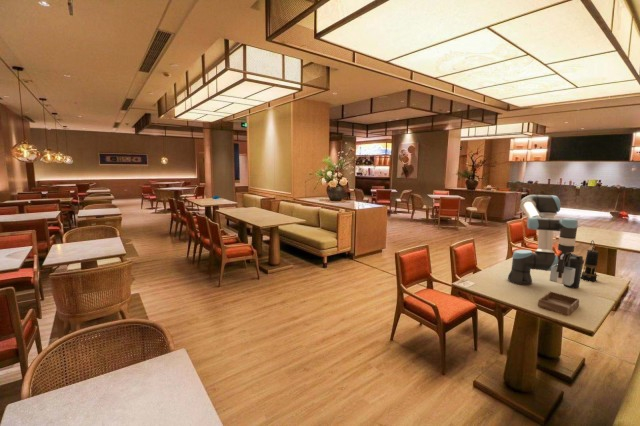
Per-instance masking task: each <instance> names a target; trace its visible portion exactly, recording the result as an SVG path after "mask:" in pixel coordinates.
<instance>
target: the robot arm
mask: <svg viewBox="0 0 640 426" xmlns="http://www.w3.org/2000/svg"><path fill="white" fill-rule="evenodd" d="M560 200H561V199H560V198H559V197H558V196H557V195H551V194H529V195H527V196H525V197H523V198H521V200H520V201H519V209H520V210H521V211H523V212H524V214H525V216H526V218H527V219H526V227H527V229H528V230H533V231H534V230H535V231H536V230H537V231H538V236H537V237H538V238H537V249H535V250H534V252H533V251H532V250H530V249H529V250H528V249H517V250H514V252H513V253H512V258H511V259H512V263H511V270H510V272H509V274H508V276H507V280H508V281H509V282H511V283H513V284H516V285H521V286H529V285H532V283H533V278H532V275H531V270H537V271H545V272H547V271H548V272H551V267H552V266H553V265H555V264H556V265H558V267H557V271H556V272H558V275H557V284H560V283H561V285H563V284H562V283H563V276H564V273H563V271H564V267H570V257H571V254H572V253H573V252H574V251H575V245H576V239H577V238H576V237H577V230H578V227H579V225H578V224H579V222H578V221H579V220H578V219H576V218H571V217H569V218H568V217H563V218H561V217H560V218H559V217H558V218H555V216H556V215H557V214H558V213H559V212H560V211H561V208H562V207H561V206H562V205H561V201H560ZM554 232H559V237H558V238H557V239H558V246H557V251H559V252H560V254H559V255H557V254H556V252H555V251H554V250H553V246H554Z"/></svg>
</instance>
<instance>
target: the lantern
mask: <svg viewBox="0 0 640 426" xmlns="http://www.w3.org/2000/svg"><path fill="white" fill-rule="evenodd" d="M592 243H593V245H592V246H591V247H592V248H591V249H586V251H587V252H586V257H585V260H584V264H583V266H584V267H583V269H582V273H581V278H580V280H582V279H583V280H582V281H585V280H586V281H585V282H589V281H592V282H591V283H596V282H597V277H599V275H598V274H597V269H598V263H599V253H600V251H598V250H596V249H595V248H594V247H595V241H594V240H591V241H590V244H592ZM595 281H596V282H595Z"/></svg>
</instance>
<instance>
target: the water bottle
mask: <svg viewBox="0 0 640 426" xmlns="http://www.w3.org/2000/svg"><path fill="white" fill-rule="evenodd" d="M584 264H585V260H584V257H583V256H582V255H578V254H575V253H571V257H570V268H574V269H575V277H574V283H573V284H572V285H571V286H568V285H564V284H563V286H564V287H566V288H569V289H579V288H580V283H581V276H582V272H583V268H584V267H583V266H584Z"/></svg>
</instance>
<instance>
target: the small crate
mask: <svg viewBox="0 0 640 426" xmlns="http://www.w3.org/2000/svg"><path fill="white" fill-rule="evenodd" d="M557 267H558V264H557V265H556V264H555V265H553V266H552V267H551V271H550V274H549V281H550V282H553V283H557V275H558V272H556V271H557ZM563 273H564V276H563V283H562V284H561V283H559V284H561V285H563V286H564V285H568V286H571V285H572V284H573V283H574V277H575V269H574V268H570V267H564V271H563ZM557 284H558V283H557Z"/></svg>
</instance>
